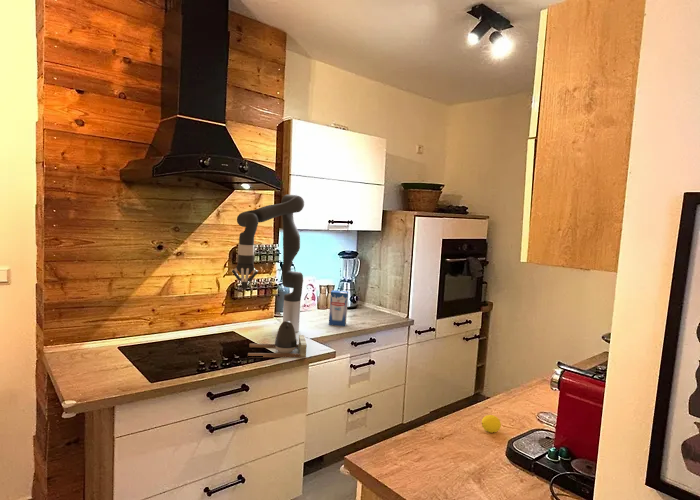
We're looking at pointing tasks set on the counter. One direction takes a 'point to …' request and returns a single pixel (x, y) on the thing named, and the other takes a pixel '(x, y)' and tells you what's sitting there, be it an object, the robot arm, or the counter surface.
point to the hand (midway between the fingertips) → (244, 289)
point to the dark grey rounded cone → (286, 338)
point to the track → (302, 353)
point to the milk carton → (338, 308)
